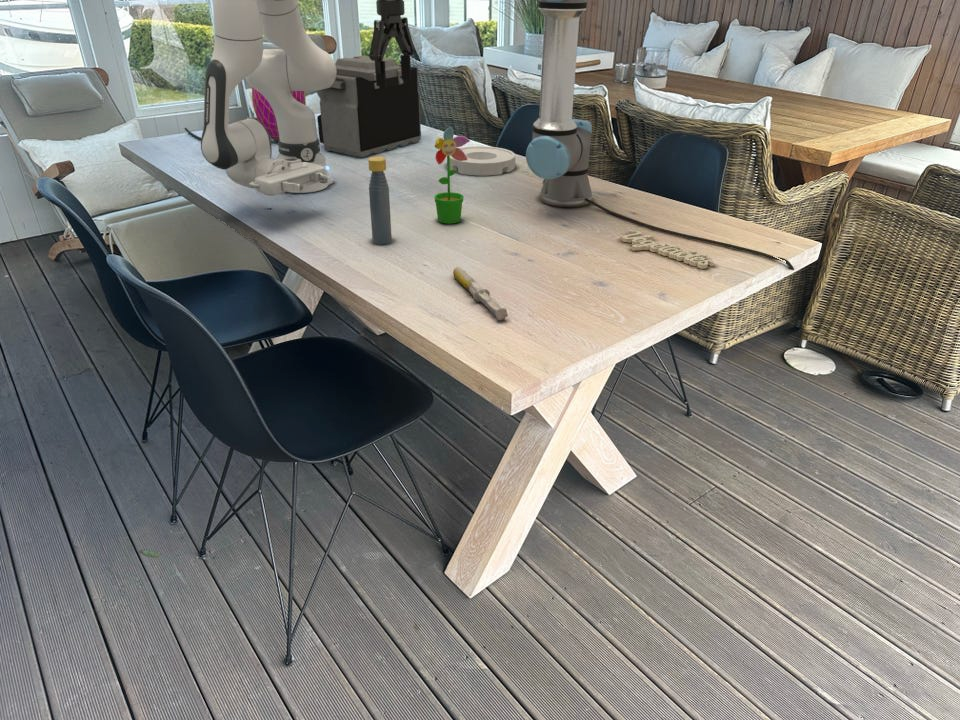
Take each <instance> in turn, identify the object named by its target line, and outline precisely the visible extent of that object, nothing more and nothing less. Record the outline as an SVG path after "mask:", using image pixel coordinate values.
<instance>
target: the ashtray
mask: <svg viewBox="0 0 960 720" xmlns="http://www.w3.org/2000/svg"><path fill="white" fill-rule="evenodd" d="M458 148H459V149H460V150H462V151H463V152H464V154H465V155H466V157H467V160H464V161H458V160H456V159H454V158H453V157H452V156H450V171H451V170H456V172H457V173H458V174H460V175H467V176H478V177H479V176H480V177H482V176H483V177H485V176H498V175H502V174H503V173H510V172H512V171H514V170H515V168H516V154H515V152H514V151H512V150H510V149H506V148H503V147H497V146H486V145H483V146H481V145H478V146H477V145H475V146H474V145H473V146H464V147H463V146H462V147H458Z"/></svg>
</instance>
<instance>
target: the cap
mask: <svg viewBox="0 0 960 720" xmlns="http://www.w3.org/2000/svg"><path fill="white" fill-rule="evenodd" d="M367 161H368V163H367V164H368V170H369V171H371V172H372V171H384V172H385V171H387V160H386V157H384V156H372V157H371V156H370V157H368V159H367Z"/></svg>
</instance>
